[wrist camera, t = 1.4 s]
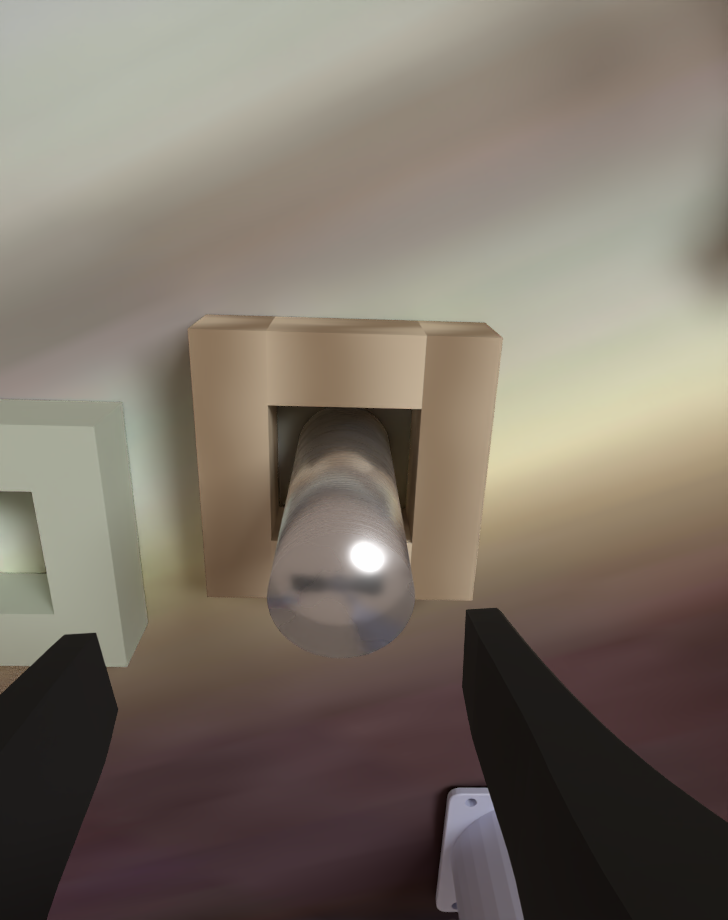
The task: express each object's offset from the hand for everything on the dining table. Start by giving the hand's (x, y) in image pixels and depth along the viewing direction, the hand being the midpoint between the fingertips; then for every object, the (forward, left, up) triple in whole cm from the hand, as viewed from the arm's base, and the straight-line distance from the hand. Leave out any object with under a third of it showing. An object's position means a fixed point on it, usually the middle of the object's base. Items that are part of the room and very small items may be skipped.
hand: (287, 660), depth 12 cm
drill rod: (-1, 0, -10) cm, 10 cm away
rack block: (+11, +3, -10) cm, 15 cm away
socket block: (-1, 0, -10) cm, 10 cm away
